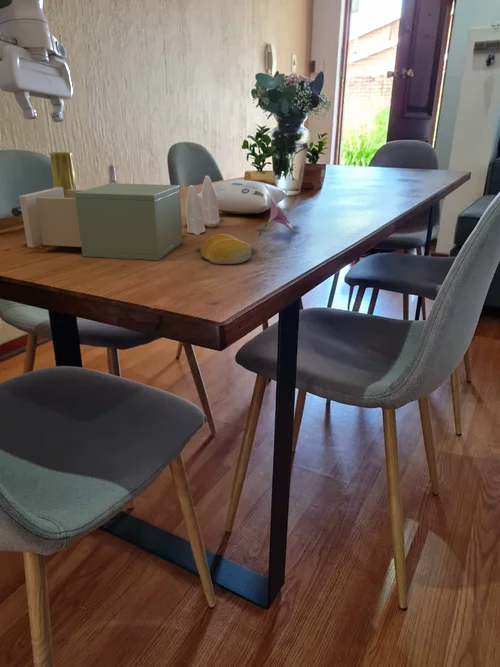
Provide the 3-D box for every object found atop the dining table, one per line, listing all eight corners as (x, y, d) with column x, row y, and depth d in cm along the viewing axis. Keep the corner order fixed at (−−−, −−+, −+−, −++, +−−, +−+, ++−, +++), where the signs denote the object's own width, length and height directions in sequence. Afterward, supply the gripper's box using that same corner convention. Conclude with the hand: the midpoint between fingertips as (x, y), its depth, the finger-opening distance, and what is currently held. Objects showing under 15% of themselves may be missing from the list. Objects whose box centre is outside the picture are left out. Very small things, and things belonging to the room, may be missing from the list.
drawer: (5, 246, 91) (-4, 195, 88) (44, 232, 102) (37, 186, 99) (93, 250, 88) (87, 198, 85) (122, 235, 100) (118, 189, 96)
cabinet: (82, 256, 88) (74, 192, 84) (115, 239, 101) (110, 183, 97) (158, 260, 86) (153, 195, 82) (182, 242, 99) (179, 185, 94)
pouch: (266, 187, 116) (288, 175, 134) (190, 186, 122) (220, 175, 139) (267, 222, 120) (288, 206, 137) (193, 219, 125) (222, 204, 143)
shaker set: (208, 223, 117) (207, 173, 112) (224, 225, 115) (224, 174, 111) (181, 233, 106) (178, 178, 102) (198, 235, 105) (196, 179, 101)
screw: (131, 223, 116) (122, 227, 112) (111, 222, 117) (102, 226, 113) (126, 163, 111) (116, 165, 107) (105, 163, 112) (95, 165, 108)
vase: (66, 214, 127) (58, 153, 122) (50, 211, 130) (42, 152, 125) (85, 210, 132) (78, 152, 126) (70, 208, 135) (62, 151, 129)
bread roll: (219, 268, 82) (218, 243, 80) (194, 256, 89) (193, 233, 87) (261, 261, 86) (262, 237, 85) (235, 250, 93) (234, 228, 92)
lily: (280, 251, 97) (306, 206, 95) (231, 222, 100) (254, 177, 98) (295, 256, 108) (318, 216, 106) (250, 230, 111) (271, 190, 109)
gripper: (6, 28, 87) (27, 114, 92) (70, 50, 106) (84, 121, 111) (-25, 34, 89) (-3, 119, 93) (44, 55, 108) (59, 125, 112)
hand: (45, 120), depth 102 cm, fingers open, 8 cm apart
